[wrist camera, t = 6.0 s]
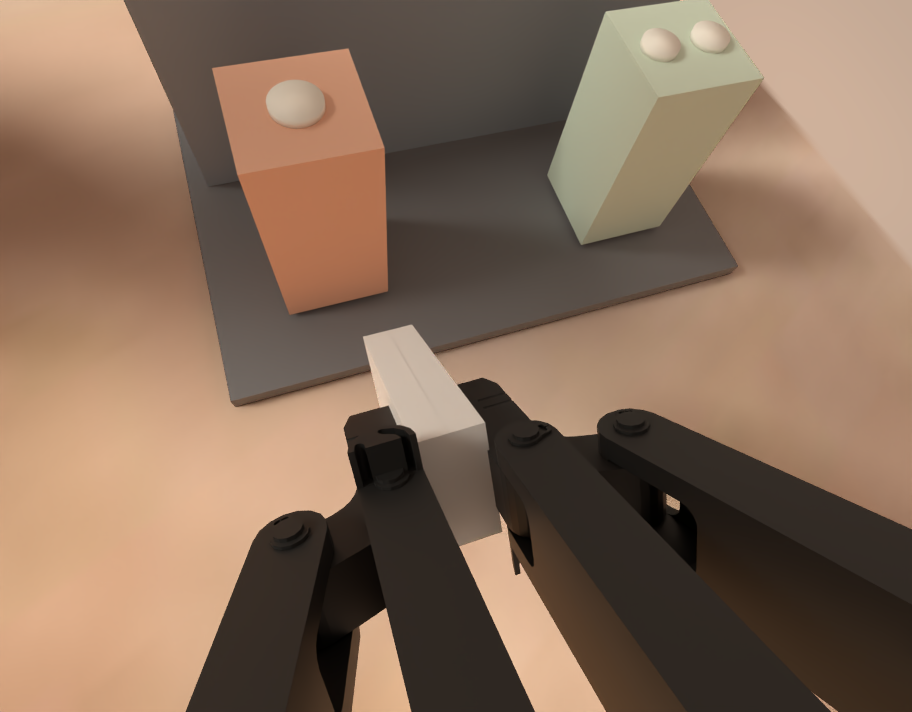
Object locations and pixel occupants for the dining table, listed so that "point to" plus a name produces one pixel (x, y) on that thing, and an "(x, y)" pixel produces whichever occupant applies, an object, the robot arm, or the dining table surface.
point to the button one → (310, 174)
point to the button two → (648, 115)
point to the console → (415, 177)
